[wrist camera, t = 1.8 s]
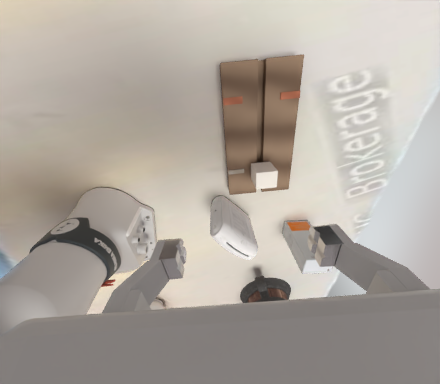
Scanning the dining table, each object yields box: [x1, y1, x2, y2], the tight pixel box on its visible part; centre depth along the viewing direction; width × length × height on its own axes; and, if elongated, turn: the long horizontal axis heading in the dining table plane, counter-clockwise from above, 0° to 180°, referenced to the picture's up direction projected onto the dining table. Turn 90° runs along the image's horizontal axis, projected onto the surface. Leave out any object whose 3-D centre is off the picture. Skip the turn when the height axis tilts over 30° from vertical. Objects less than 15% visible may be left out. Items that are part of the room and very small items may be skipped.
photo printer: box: [210, 196, 258, 260], centre depth 36 cm, size 10×4×12 cm, turn 47°
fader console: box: [220, 55, 304, 195], centre depth 32 cm, size 22×12×3 cm, turn 5°
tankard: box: [240, 276, 291, 303], centre depth 49 cm, size 23×17×20 cm
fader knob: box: [251, 162, 278, 189], centre depth 32 cm, size 3×4×6 cm
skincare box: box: [282, 220, 333, 274], centre depth 40 cm, size 6×4×12 cm
